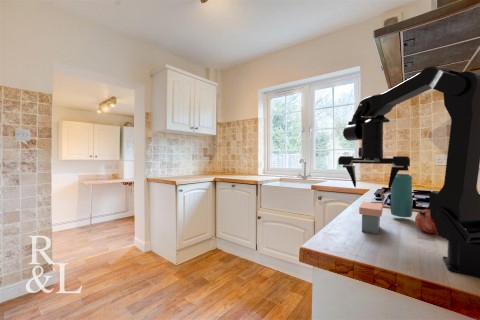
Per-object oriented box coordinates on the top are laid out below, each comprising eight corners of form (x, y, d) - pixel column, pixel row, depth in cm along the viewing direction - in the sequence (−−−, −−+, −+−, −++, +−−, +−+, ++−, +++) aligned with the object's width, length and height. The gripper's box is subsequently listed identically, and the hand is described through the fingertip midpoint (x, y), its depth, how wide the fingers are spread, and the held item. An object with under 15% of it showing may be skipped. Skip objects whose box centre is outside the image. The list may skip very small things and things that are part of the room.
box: (378, 234, 64) (378, 216, 64) (361, 231, 67) (362, 213, 66) (379, 226, 71) (379, 209, 71) (364, 224, 74) (365, 208, 74)
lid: (381, 220, 63) (381, 210, 63) (359, 217, 66) (359, 207, 66) (382, 212, 71) (382, 203, 71) (362, 210, 75) (363, 201, 75)
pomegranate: (426, 234, 71) (401, 215, 71) (443, 217, 69) (418, 198, 69) (444, 246, 63) (417, 225, 63) (464, 228, 62) (436, 206, 62)
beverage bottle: (416, 222, 76) (417, 164, 76) (395, 221, 77) (395, 164, 77) (406, 217, 82) (407, 164, 82) (386, 216, 84) (387, 164, 83)
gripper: (407, 139, 70) (407, 187, 70) (344, 141, 81) (343, 183, 81) (410, 136, 61) (409, 192, 61) (338, 139, 71) (337, 187, 72)
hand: (371, 188), depth 69 cm, fingers open, 9 cm apart
